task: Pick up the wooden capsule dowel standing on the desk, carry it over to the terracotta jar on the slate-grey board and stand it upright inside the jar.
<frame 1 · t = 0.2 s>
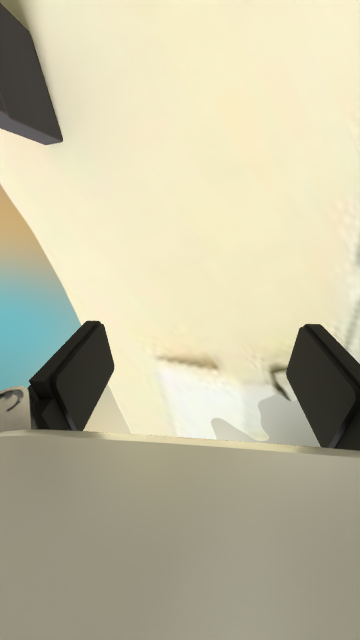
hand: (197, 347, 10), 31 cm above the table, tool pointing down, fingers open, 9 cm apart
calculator: (39, 95, 29), on the table
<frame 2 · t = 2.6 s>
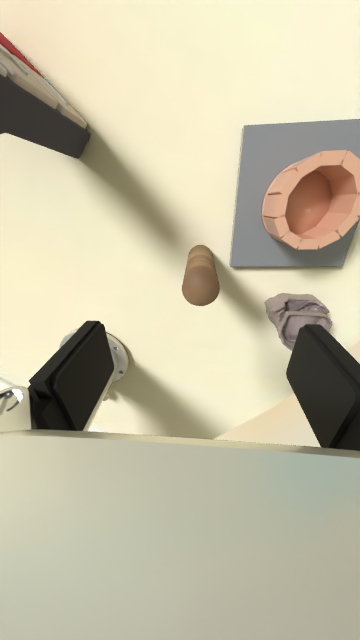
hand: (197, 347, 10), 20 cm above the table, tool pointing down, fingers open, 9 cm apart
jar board: (295, 204, 24), on the table
wooden capsule dowel: (200, 257, 28), on the table
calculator: (42, 103, 22), on the table
dental mold: (287, 312, 31), on the table
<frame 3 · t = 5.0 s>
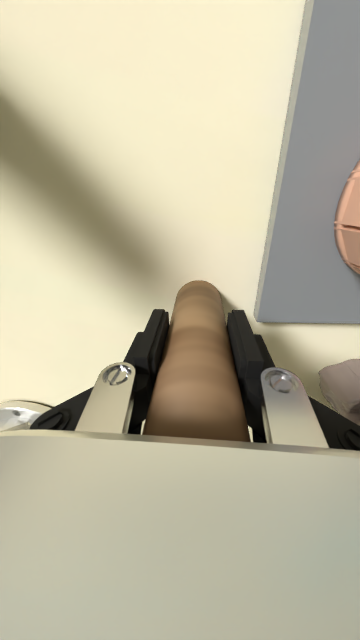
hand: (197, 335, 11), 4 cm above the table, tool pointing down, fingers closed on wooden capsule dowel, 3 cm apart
wooden capsule dowel: (198, 301, 15), on the table, touching gripper
dental mold: (357, 385, 18), on the table
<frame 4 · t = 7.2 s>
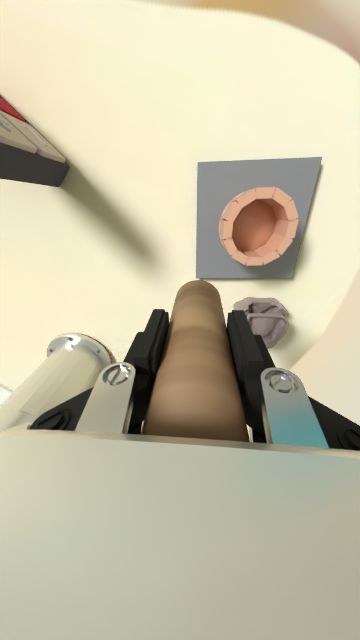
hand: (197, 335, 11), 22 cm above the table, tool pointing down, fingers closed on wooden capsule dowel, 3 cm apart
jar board: (248, 225, 28), on the table
wooden capsule dowel: (197, 301, 15), point 18 cm above the table, touching gripper
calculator: (27, 141, 25), on the table
dental mold: (254, 314, 34), on the table
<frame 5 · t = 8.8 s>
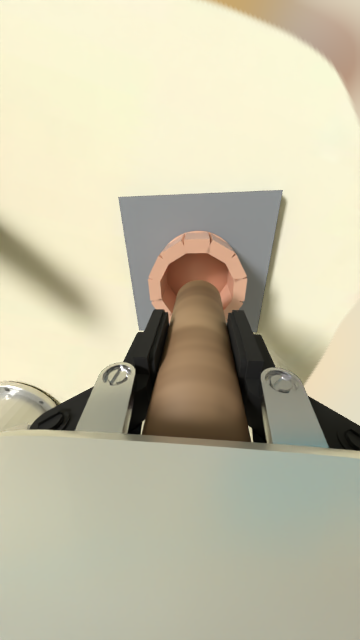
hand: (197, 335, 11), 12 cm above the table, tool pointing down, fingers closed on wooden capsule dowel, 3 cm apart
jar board: (197, 271, 22), on the table
wooden capsule dowel: (198, 301, 15), point 8 cm above the table, touching gripper
when the fingers open (7 cm above the table, at t = 9.8 s): wooden capsule dowel drops 1 cm, resting on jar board.
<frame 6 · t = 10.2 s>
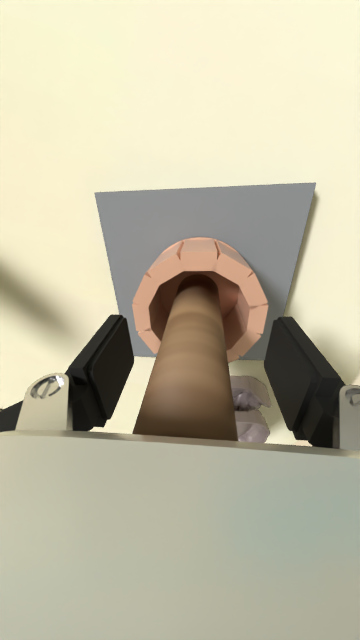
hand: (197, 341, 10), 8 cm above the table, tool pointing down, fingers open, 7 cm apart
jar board: (198, 286, 17), on the table
wooden capsule dowel: (197, 293, 16), point 2 cm above the table, touching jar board
dental mold: (225, 393, 24), on the table
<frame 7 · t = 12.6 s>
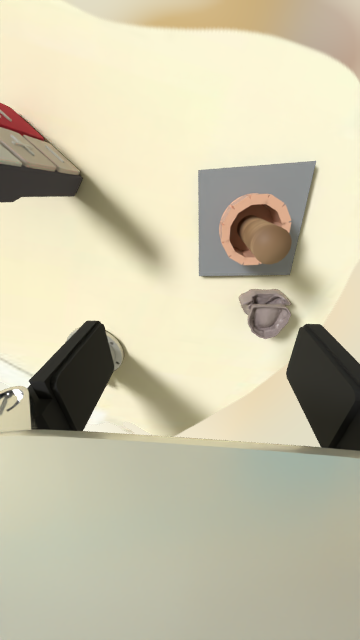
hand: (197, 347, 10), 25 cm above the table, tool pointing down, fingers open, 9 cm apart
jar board: (247, 226, 30), on the table
wooden capsule dowel: (248, 227, 28), point 2 cm above the table, touching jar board
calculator: (45, 156, 28), on the table
dental mold: (259, 305, 36), on the table
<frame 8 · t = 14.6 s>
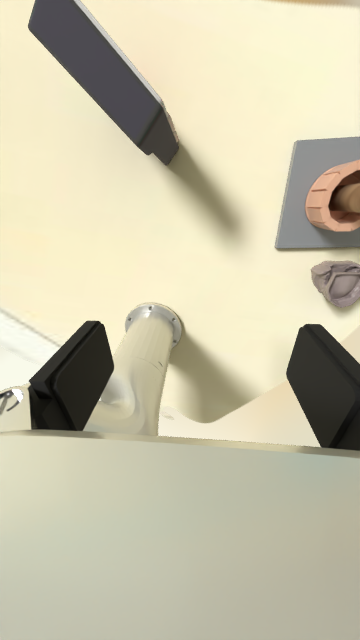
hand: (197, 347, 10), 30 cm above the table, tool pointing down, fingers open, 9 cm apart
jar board: (330, 198, 31), on the table
wooden capsule dowel: (336, 198, 30), point 2 cm above the table, touching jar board
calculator: (145, 125, 29), on the table
dental mold: (329, 277, 38), on the table
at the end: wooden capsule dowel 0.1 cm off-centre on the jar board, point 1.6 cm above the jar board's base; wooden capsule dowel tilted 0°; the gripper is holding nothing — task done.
